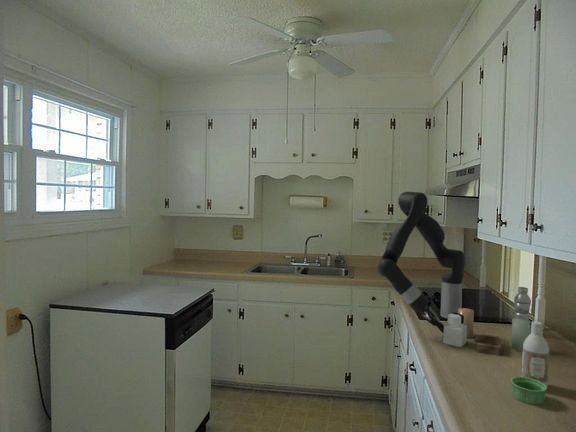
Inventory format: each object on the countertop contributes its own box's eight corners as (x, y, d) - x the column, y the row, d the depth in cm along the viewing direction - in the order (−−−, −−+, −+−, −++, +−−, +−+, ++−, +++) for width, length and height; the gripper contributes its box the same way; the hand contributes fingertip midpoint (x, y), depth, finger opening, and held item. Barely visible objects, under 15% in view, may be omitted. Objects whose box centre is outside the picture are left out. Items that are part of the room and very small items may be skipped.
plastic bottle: (514, 334, 169) (516, 288, 168) (511, 329, 176) (513, 285, 175) (531, 336, 167) (533, 290, 166) (527, 331, 174) (529, 287, 173)
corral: (476, 351, 150) (477, 344, 150) (474, 340, 162) (474, 333, 162) (502, 355, 146) (502, 347, 146) (498, 343, 159) (498, 336, 158)
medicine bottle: (448, 338, 164) (449, 310, 163) (466, 342, 159) (467, 313, 159) (442, 343, 158) (443, 313, 158) (461, 347, 154) (462, 317, 153)
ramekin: (513, 402, 113) (513, 387, 113) (508, 388, 121) (508, 374, 121) (549, 408, 110) (550, 393, 110) (541, 393, 118) (542, 379, 118)
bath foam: (523, 388, 121) (526, 324, 120) (519, 378, 128) (522, 318, 127) (549, 392, 119) (553, 327, 118) (544, 382, 125) (547, 320, 124)
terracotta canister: (461, 332, 172) (462, 307, 171) (475, 336, 167) (476, 310, 166) (454, 334, 168) (455, 309, 168) (468, 339, 163) (469, 313, 163)
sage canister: (514, 344, 158) (516, 317, 158) (531, 348, 154) (532, 321, 153) (508, 347, 155) (509, 319, 154) (524, 352, 150) (526, 323, 150)
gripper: (420, 296, 157) (452, 330, 153) (422, 288, 169) (452, 320, 165) (406, 307, 159) (437, 342, 155) (409, 299, 171) (438, 331, 167)
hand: (445, 331), depth 160 cm, fingers closed
